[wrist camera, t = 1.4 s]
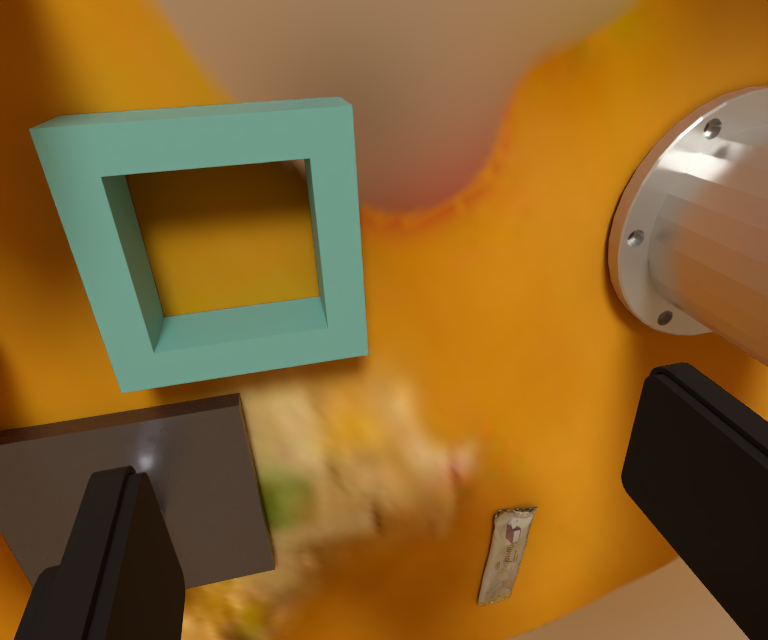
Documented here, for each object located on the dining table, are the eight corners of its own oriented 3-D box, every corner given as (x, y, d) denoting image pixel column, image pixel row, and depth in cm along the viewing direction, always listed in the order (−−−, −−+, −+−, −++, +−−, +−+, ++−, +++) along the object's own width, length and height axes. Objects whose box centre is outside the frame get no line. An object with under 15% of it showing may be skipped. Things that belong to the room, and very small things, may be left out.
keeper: (239, 393, 26) (234, 539, 18) (274, 554, 31) (281, 714, 24) (-36, 437, 24) (-165, 621, 16) (56, 601, 29) (-8, 791, 22)
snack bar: (514, 597, 39) (484, 616, 38) (500, 581, 40) (470, 599, 39) (540, 506, 34) (506, 525, 33) (523, 491, 35) (490, 508, 34)
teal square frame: (339, 96, 20) (352, 105, 18) (356, 321, 25) (368, 354, 23) (59, 115, 19) (28, 128, 16) (135, 353, 23) (121, 393, 21)
